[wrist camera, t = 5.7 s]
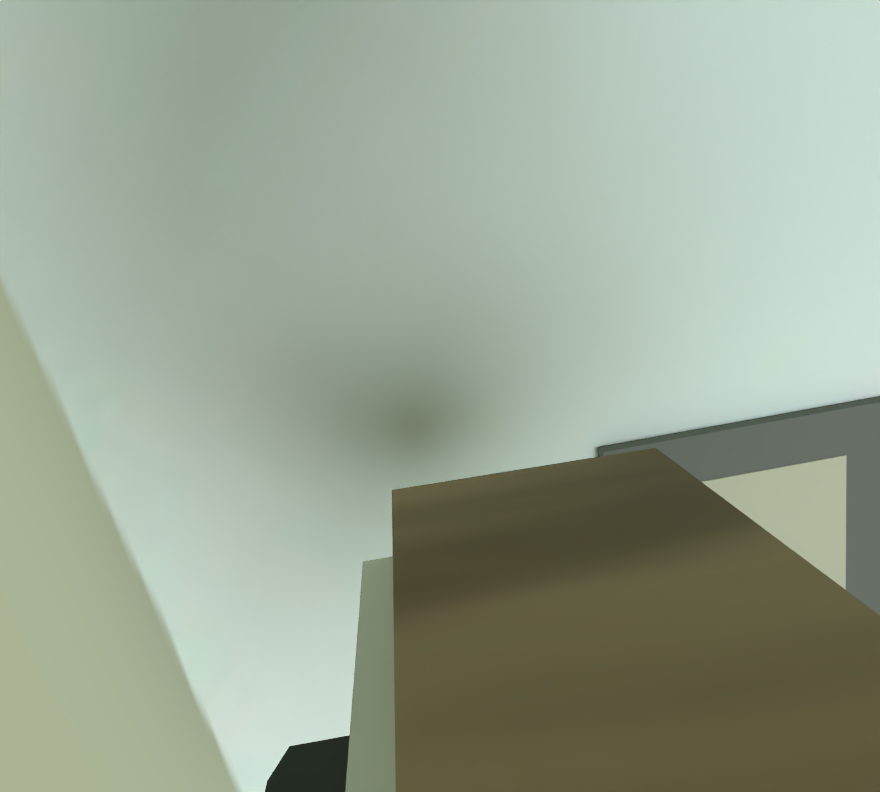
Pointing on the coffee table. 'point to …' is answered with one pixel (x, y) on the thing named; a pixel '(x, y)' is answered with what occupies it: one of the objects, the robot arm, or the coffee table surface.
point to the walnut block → (620, 641)
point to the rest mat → (797, 483)
